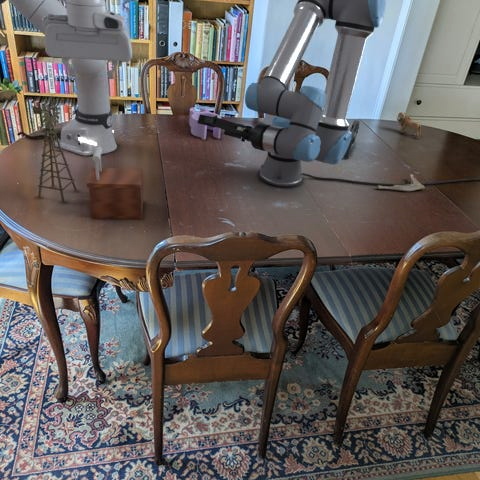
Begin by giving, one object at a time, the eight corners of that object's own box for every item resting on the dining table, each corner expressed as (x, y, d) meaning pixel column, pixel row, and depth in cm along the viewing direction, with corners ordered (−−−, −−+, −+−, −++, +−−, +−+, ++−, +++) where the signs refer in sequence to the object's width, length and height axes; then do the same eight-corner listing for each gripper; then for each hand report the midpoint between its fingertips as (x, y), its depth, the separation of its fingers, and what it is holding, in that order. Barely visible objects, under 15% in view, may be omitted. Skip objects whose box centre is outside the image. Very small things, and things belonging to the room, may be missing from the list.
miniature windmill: (63, 202, 138) (50, 102, 122) (36, 197, 139) (20, 97, 123) (78, 189, 146) (67, 93, 130) (53, 185, 147) (39, 89, 131)
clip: (182, 123, 206) (183, 107, 202) (209, 122, 210) (210, 106, 207) (197, 140, 191) (197, 123, 187) (225, 138, 195) (226, 122, 191)
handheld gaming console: (349, 160, 187) (354, 136, 182) (342, 158, 188) (347, 134, 183) (355, 142, 206) (361, 119, 201) (349, 140, 207) (354, 118, 201)
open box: (91, 218, 133) (88, 187, 128) (96, 201, 142) (93, 171, 136) (141, 218, 135) (140, 188, 130) (143, 202, 144) (142, 173, 138)
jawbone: (429, 189, 172) (431, 184, 171) (394, 201, 161) (396, 196, 160) (410, 177, 177) (412, 172, 176) (375, 189, 167) (376, 184, 165)
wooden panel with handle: (86, 187, 128) (84, 158, 123) (92, 171, 136) (89, 143, 131) (140, 188, 130) (139, 160, 125) (142, 173, 138) (141, 145, 134)
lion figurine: (391, 130, 224) (396, 112, 219) (396, 128, 227) (401, 110, 222) (420, 139, 216) (426, 121, 211) (425, 137, 220) (431, 118, 215)
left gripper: (37, 15, 105) (45, 78, 113) (129, 22, 108) (131, 83, 116) (43, 11, 111) (51, 71, 118) (131, 18, 114) (133, 76, 121)
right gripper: (240, 140, 124) (183, 126, 135) (284, 159, 145) (231, 145, 156) (249, 113, 123) (190, 100, 134) (292, 136, 144) (238, 123, 155)
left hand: (91, 77), depth 117 cm, fingers open, 8 cm apart
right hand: (212, 124), depth 145 cm, fingers open, 13 cm apart
